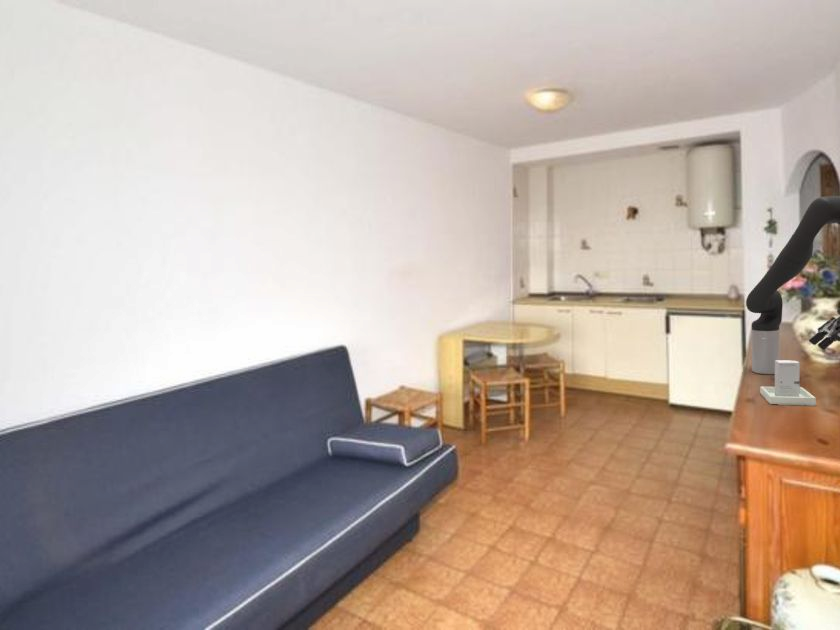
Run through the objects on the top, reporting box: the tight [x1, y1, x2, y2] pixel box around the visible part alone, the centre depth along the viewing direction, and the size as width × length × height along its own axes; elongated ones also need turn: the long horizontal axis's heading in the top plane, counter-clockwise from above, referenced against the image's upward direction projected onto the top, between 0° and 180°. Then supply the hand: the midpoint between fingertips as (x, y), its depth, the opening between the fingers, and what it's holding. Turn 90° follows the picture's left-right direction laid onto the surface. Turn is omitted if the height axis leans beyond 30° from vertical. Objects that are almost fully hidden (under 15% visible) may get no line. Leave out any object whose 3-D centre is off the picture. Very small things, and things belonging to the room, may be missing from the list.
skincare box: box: [774, 359, 801, 397], centre depth 170 cm, size 6×4×12 cm
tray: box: [759, 385, 817, 407], centre depth 171 cm, size 14×12×2 cm
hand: (815, 345), depth 166 cm, fingers open, 8 cm apart
